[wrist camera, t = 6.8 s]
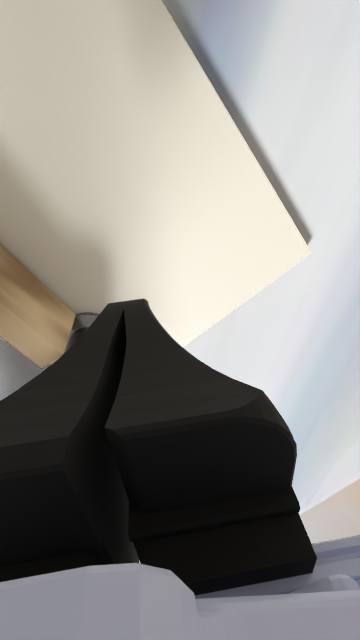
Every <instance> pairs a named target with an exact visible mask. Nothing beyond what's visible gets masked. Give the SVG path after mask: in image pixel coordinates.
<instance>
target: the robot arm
mask: <svg viewBox="0 0 360 640" xmlns="http://www.w3.org/2000/svg"><path fill="white" fill-rule="evenodd" d="M296 457H297V449H296V443H295V441H294V439H293V436H292V434H291V432H290V430H289V428H288V426H287V424H286V423H285V421H284V419H283V418H282V416H281V415H280V414H279V412H278V411H277V409H276V408H275V406H274V405H273V404H272V402H271V401H270V400H269V398H268V397H267V396H266V394H265V393H264V392H263V391H262V390H260V389H257V388H255V387H252V386H250V385H247V384H245V383H242V382H240V381H237V380H234V379H232V378H230V377H228V376H226V375H224V374H222V373H220V372H218V371H216V370H214V369H212V368H211V367H209V366H207V365H206V364H204V363H203V362H201V361H200V360H198V359H197V358H195V357H194V356H193V355H191V354H190V353H189V352H187V351H186V350H185V349H184V348H183V347H182V346H180V345H179V344H178V343H177V342H176V341H175V340H174V339H173V338H172V337H171V336H170V335H169V334H168V332H167V331H166V330H165V329H164V328H163V327H162V325H161V324H160V323H159V321H158V320H157V319H156V317H155V316H154V314H153V312H152V311H151V309H150V307H149V304H148V301H147V300H146V299H144V298H143V299H136V300H129V301H122V302H114V303H108V304H107V305H106V307H105V308H104V309H103V310H102V312H101V313H100V314H99V315H98V317H97V318H96V319H95V320H94V322H93V323H92V324H91V325H90V327H89V328H88V329H87V330H86V331H85V332H84V334H83V335H82V336H81V337H80V338H79V339H78V340H77V341H76V342H75V343H74V344H73V345H72V346H71V347H70V348H69V349H68V350H67V351H66V352H65V353H64V354H63V355H62V356H61V357H60V358H59V359H58V360H56V361H55V362H54V363H53V364H52V365H51V366H49V367H48V368H47V369H46V370H44V371H43V372H42V373H41V374H39V375H38V376H37V377H35V378H34V379H32V380H31V381H30V382H28V383H27V384H25V385H24V386H23V387H21V388H20V389H18V390H17V391H16V392H14V393H12V394H11V395H9V396H8V397H6V398H5V399H3V400H1V401H0V640H360V535H358V536H352V537H346V538H341V539H336V540H330V541H325V542H320V543H314V544H311V542H310V539H309V537H308V535H307V532H306V530H305V528H304V525H303V523H302V521H301V519H300V516H299V513H298V512H299V511H300V506H299V502H298V500H297V497H296V495H295V493H294V490H293V488H292V480H293V474H294V469H295V463H296ZM139 560H140V563H141V564H139Z"/></svg>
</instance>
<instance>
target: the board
mask: <svg viewBox="0 0 360 640" xmlns="http://www.w3.org/2000/svg"><path fill="white" fill-rule="evenodd" d="M0 243H1V244H2V245H3V246H4V247H5V248H6V249H7V250H8V251H9V252H10V253H11V254H12V255H13V256H14V257H16V258H17V259H18V260H19V261H20V262H21V263H22V264H23V265H24V266H25V267H26V268H27V269H28V270H29V271H30V272H31V273H32V274H33V275H34V276H35V277H37V278H38V279H39V280H40V281H41V282H42V283H43V284H44V285H45V286H46V287H47V288H48V289H49V290H50V291H51V292H52V293H53V294H54V295H55V296H57V297H58V298H59V299H60V300H61V301H62V302H63V303H64V304H65V305H66V306H67V307H68V308H69V309H70V310H71V311H72V312H73V313H74V314H78V313H83V312H92V313H97V314H100V313H101V312H102V310H103V309H104V308H105V307H106V305H107V304H108V303H114V302H122V301H129V300H136V299H143V298H144V299H146V300H147V301H148V304H149V307H150V309H151V311H152V312H153V314H154V316H155V317H156V319H157V320H158V321H159V323H160V324H161V325H162V327H163V328H164V329H165V330H166V331H167V332H168V334H169V335H170V336H171V337H172V338H173V339H174V340H175V341H176V342H177V343H178V344H179V345H180V346H182V347H184V346H185V345H187V344H188V343H190V342H191V341H192V340H194V339H195V338H196V337H198V336H199V335H201V334H202V333H203V332H205V331H206V330H207V329H209V328H210V327H212V326H213V325H214V324H216V323H217V322H218V321H220V320H221V319H223V318H224V317H225V316H227V315H228V314H229V313H231V312H232V311H233V310H235V309H236V308H238V307H239V306H240V305H242V304H243V303H244V302H246V301H247V300H249V299H250V298H251V297H253V296H254V295H255V294H257V293H258V292H260V291H261V290H262V289H264V288H265V287H266V286H268V285H269V284H271V283H272V282H273V281H275V280H276V279H277V278H279V277H280V276H281V275H283V274H284V273H286V272H287V271H288V270H290V269H291V268H292V267H294V266H295V265H297V264H298V263H299V262H301V261H302V260H303V259H305V258H306V257H308V256H309V255H310V254H312V252H311V251H310V249H309V247H308V245H307V244H306V242H305V240H304V239H303V237H302V235H301V234H300V232H299V230H298V229H297V227H296V225H295V224H294V222H293V220H292V219H291V217H290V215H289V214H288V212H287V210H286V208H285V207H284V205H283V203H282V202H281V200H280V198H279V197H278V195H277V193H276V192H275V190H274V188H273V187H272V185H271V183H270V182H269V180H268V178H267V177H266V175H265V173H264V172H263V170H262V168H261V166H260V165H259V163H258V161H257V160H256V158H255V156H254V155H253V153H252V151H251V150H250V148H249V146H248V145H247V143H246V141H245V140H244V138H243V136H242V135H241V133H240V131H239V129H238V128H237V126H236V124H235V123H234V121H233V119H232V118H231V116H230V114H229V113H228V111H227V109H226V108H225V106H224V104H223V103H222V101H221V99H220V98H219V96H218V94H217V93H216V91H215V89H214V87H213V86H212V84H211V82H210V81H209V79H208V77H207V76H206V74H205V72H204V71H203V69H202V67H201V66H200V64H199V62H198V61H197V59H196V57H195V56H194V54H193V52H192V50H191V49H190V47H189V45H188V44H187V42H186V40H185V39H184V37H183V35H182V34H181V32H180V30H179V29H178V27H177V25H176V24H175V22H174V20H173V19H172V17H171V15H170V14H169V12H168V10H167V8H166V7H165V5H164V3H163V2H162V0H0ZM59 358H60V357H59ZM59 358H58V359H59ZM58 359H56V360H58ZM56 360H55V361H56ZM55 361H53V362H52V363H50V364H51V365H52V364H53V363H54V362H55Z"/></svg>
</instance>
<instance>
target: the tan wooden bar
mask: <svg viewBox="0 0 360 640" xmlns="http://www.w3.org/2000/svg"><path fill="white" fill-rule="evenodd" d="M75 316H76V315H75V314H74V313H73V312H72V311H71V310H70V309H69V308H68V307H67V306H66V305H65V304H64V303H63V302H62V301H61V300H60V299H59V298H58V297H57V296H55V295H54V294H53V293H52V292H51V291H50V290H49V289H48V288H47V287H46V286H45V285H44V284H43V283H42V282H41V281H40V280H39V279H38V278H37V277H35V276H34V275H33V274H32V273H31V272H30V271H29V270H28V269H27V268H26V267H25V266H24V265H23V264H22V263H21V262H20V261H19V260H18V259H17V258H16V257H14V256H13V255H12V254H11V253H10V252H9V251H8V250H7V249H6V248H5V247H4V246H3V245H2V244H1V243H0V337H1V338H3V339H4V340H5V341H6V342H8V343H9V344H10V345H12V346H13V347H14V348H16V349H17V350H18V351H19V352H21V353H22V354H23V355H25V356H26V357H27V358H28V359H30V360H31V361H32V362H34V363H35V364H36V365H37V366H39V367H40V368H41V369H43V368H44V367H46V366H47V365H49V364H50V363H52V362H53V361H55V360H56V359H58V358H59V357H61V356H62V355H63V354H64V351H65V348H66V345H67V342H68V338H69V335H70V332H71V329H72V326H73V322H74V319H75Z"/></svg>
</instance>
